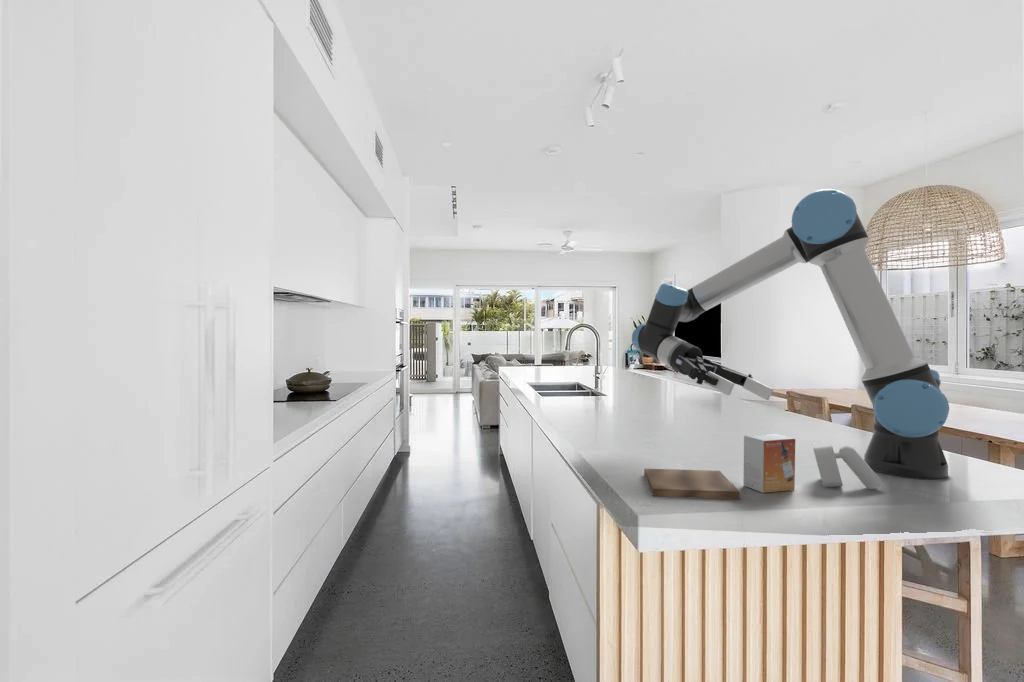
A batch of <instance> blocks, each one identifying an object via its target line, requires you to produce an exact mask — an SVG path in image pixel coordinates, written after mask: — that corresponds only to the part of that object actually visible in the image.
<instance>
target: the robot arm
mask: <svg viewBox="0 0 1024 682" xmlns="http://www.w3.org/2000/svg"><path fill="white" fill-rule="evenodd" d="M869 241H870V238H869V235H868V233H867V232H866V230H865V227H864V225H863V223H862V221H861V218H860V216H859V214H858V212H857V206H856V203H855V202H854V199H853V198H851V197H850V195H848V194H846V193H845V192H843V191H841V190H838V189H832V188H828V189H827V188H825V189H819V190H816V191H813V192H811V193H809V194H808V195H806V196H804V197H803V198H802V199H801V200H800V201H799V202H798V203H797V205H796V206H795V208H794V209H793V213H792V216H791V227H789V228H787V229H785V230H784V233H783V234H782V236H781V237H779V238H777V239H775V240H774V241H772V242H771V243H769V244H767V245H765V246H764V247H761V248H759V249H757V250H756V251H755V252H753V253H751V254H749V255H747V256H745V257H744V258H742V259H740V260H739V261H737V262H735V263H733V264H731V265H729V266H727V267H726V268H724V269H722V270H720V271H719V272H717V273H716V274H714V275H711V276H710V277H708V278H706V279H705V280H703V281H702V282H699V283H698V284H695V285H694V286H693V287H691V288H688V289H686V288H683V287H680V286H677V285H675V284H674V285H673V284H669V283H664V282H663V283H661V284H660V285H659V288H658V290H657V292H656V294H655V295H654V296H655V298H654V300H653V303H652V305H651V308H650V311H649V312H650V313H649V314H648V317H647V319H646V322H645V323H640V324H639V325H638V326H636V328H635V329H634V330H633V332H632V334H631V342H632V345H633V347H635V348H636V349H637V350H638V351H640V352H641V353H643V354H644V355H646V356H648V357H650V358H653V359H654V360H656V361H658V362H660V363H662V364H664V368H667V369H668V368H670V369H673V370H674V371H676V372H678V373H679V374H682V375H683V376H687V377H688V378H690V379H691V380H696V384H698V385H703V383H704V384H706V385H708V386H709V387H711V388H714V389H715V390H717V391H719V392H720V393H723V394H725V395H726V396H731V393H732V391H733V389H734V388H735V385H737V386H739V387H740V386H741V387H742V388H743V389H744V390H746V391H749V392H750V393H753V395H756V396H758V397H760V398H761V399H764V400H766V401H770V399H771V395H772V394H773V391H774V388H772V387H770V386H768V385H766V384H764V383H762V382H760V381H757V380H756V379H754V377H753V376H752V375H753V374H751V373H749V374H745V373H743V372H741V371H737V370H736V369H734V368H730V367H728V366H725V365H723V364H720V363H719V362H717V361H712V360H711V359H709V358H706V357H704V355H703V352H702V350H701V348H700V347H699V346H695V345H694V344H692V343H689V342H687V341H686V340H683V339H681V338H679V337H678V336H675V335H674V333H675V331H676V329H677V325H678V323H679V322H681V323H689V322H691V321H694V320H695V319H697V318H698V317H699V316H700V315H701V314H703V313H705V312H706V311H709V310H710V309H713V308H714V307H716V306H719V305H720V304H721V303H723V302H726V301H728V300H730V299H732V298H733V297H735V296H737V295H739V294H741V293H743V292H744V291H747V290H748V289H751V288H753V287H754V286H756V285H758V284H760V283H762V282H764V281H767V280H768V279H770V278H772V277H774V276H775V275H778V274H779V273H781V272H783V271H785V270H787V269H789V268H790V267H793V266H794V265H796V264H798V263H802V264H807V263H809V264H811V265H814V266H818V267H819V268H820V270H821V272H822V274H823V277H824V279H825V281H826V284H827V285H828V288H829V290H830V292H831V295H832V296H833V298H834V301H835V303H836V305H837V308H838V310H839V312H840V314H841V316H842V319H843V321H844V324H845V326H846V328H847V330H848V333H849V335H850V337H851V339H852V342H853V344H854V345H855V348H856V351H857V353H858V355H859V357H860V359H861V362H862V365H863V366H864V368H865V369H864V370H865V371H864V372H863V375H862V376H861V382H862V384H863V387H864V389H865V391H866V394H867V396H868V398H869V400H870V403H871V405H872V408H873V434H872V435H871V437H870V438H871V439H870V440H869V441H870V442H869V444H868V445H867V448H866V450H865V453H864V455H863V457H864V458H863V459H864V461H865V462H866V463H867V464H868V465H869V467H870V468H871V469H872V470H873V471H874V472H879V473H883V474H887V475H893V476H897V477H902V478H903V477H904V478H912V479H921V480H922V479H923V480H938V479H944V478H947V477H948V476H949V464H948V462H947V459H946V456H945V454H944V451H943V448H942V446H941V443H940V441H939V430H940V429H941V428H942V427H943V426H944V425H945V423H946V422H947V419H948V417H949V414H950V413H949V411H950V404H949V401H948V398H947V397H946V395H945V394H944V393H943V392H942V391H941V389H940V386H941V380H940V373H939V372H938V371H937V370H935V369H931V368H930V366H929V364H928V362H927V360H924V359H921V358H918V357H916V356H915V354H914V352H913V351H912V349H911V346H910V345H909V343H908V341H907V340H908V339H906V336H905V333H904V332H903V329H902V327H901V324H900V323H899V321H898V319H897V316H896V314H895V312H894V310H893V308H892V306H891V304H890V301H889V299H888V297H887V295H886V292H885V291H884V289H883V286H882V285H881V282H880V280H879V278H878V275H877V273H876V272H875V270H874V267H873V265H872V262H871V261H870V258H869V257H868V254H867V252H866V247H867V245H868V242H869Z"/></svg>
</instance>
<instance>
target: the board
mask: <svg viewBox="0 0 1024 682" xmlns="http://www.w3.org/2000/svg"><path fill="white" fill-rule="evenodd" d="M643 471H644V472H643V474H644V475H645V476H644V475H643V476H644V478H645V480H646V483H647V485H648V488H649V487H650V488H649V490H650V492H651V495H652V496H653V497H662V496H667V497H666V498H670V497H671V498H688V497H696V498H695V499H719V500H722V499H723V500H740V499H741V498H740V494H741V493H740V492H741V491H740V490H739V489H738V488H737V487H736V486H735V485H734V484H733V483H732V482H731V481H730V480H729V479H728V478H727V477H726V476H725V474H724V473H722V471H721V470H707V469H705V470H703V469H702V470H701V469H677V468H675V469H672V468H669V469H668V468H645V467H644V469H643ZM668 496H669V497H668Z"/></svg>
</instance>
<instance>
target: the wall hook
mask: <svg viewBox="0 0 1024 682" xmlns="http://www.w3.org/2000/svg"><path fill="white" fill-rule="evenodd" d="M811 446H812V449H813V453H814V457H815V460H816V461H815V462H816V463H817V464H816V465H817V468H818V472H819V475H820V479H821V483H822V487H823V488H831V487H833V488H835V487H843V480H842V478H841V474H840V470H839V466H838V461H837V459H842V460H843V462H844V463H845V464H846V465H847V466H848V467H849V469H850V470H851V471H852V473H854V475H855V476H856V478H858V479H859V480H860V482H861V483H862V484H863V485H864V486H865V488H866V489H867V490H868V489H869V490H873V489H876V488H878V487H880V486H881V485H882V483H883V481H882V480H881V478H880V477H879V476H878V475H877V473H876V471H875V470H872V469H871V468H870V467H869V465H868V464H867V463H866V462H865V461H864V458H863V457H862V456H861V455H860V454H859V453H858V451H857V450H856V449H855V447H852V446H850V445H844V446H841V447H840V448H839V450H838V451H836V452H834V448H833V444H832V442H831V440H830V439H829V440H828V439H827V440H822V441H821V440H820V441H813V442H811Z"/></svg>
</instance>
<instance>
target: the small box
mask: <svg viewBox="0 0 1024 682" xmlns="http://www.w3.org/2000/svg"><path fill="white" fill-rule="evenodd" d="M795 468H796V438H794V437H790V436H787V435H783V434H779V433H775V432H774V433H766V434H755V435H744V436H743V486H744V487H747V488H750V489H752V490H755V491H757V492H759V493H762V494H765V493H773V492H785V491H786V492H787V490H791V491H794V490H795V489H796V488H795V487H796V485H795V479H796V473H795V472H796V469H795Z"/></svg>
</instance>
